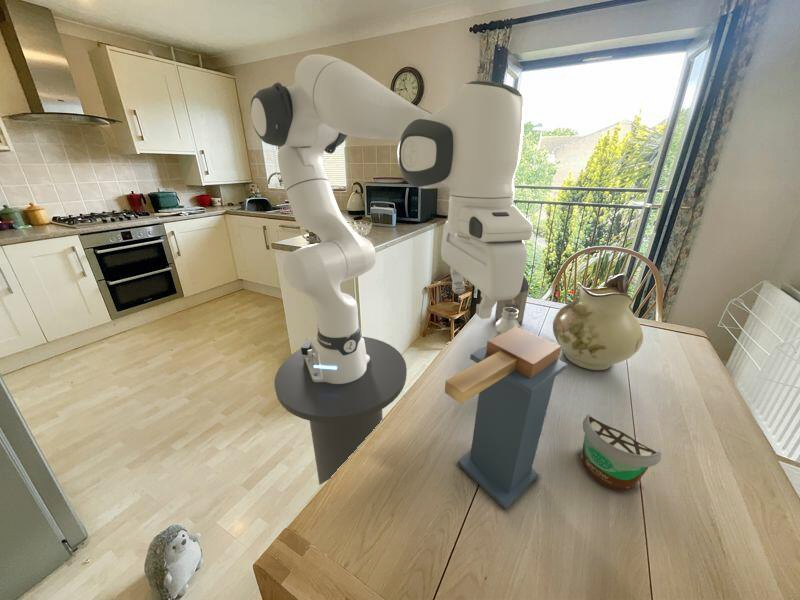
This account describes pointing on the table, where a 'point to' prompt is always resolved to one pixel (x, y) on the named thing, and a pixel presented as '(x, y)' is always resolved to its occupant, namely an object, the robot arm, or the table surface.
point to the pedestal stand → (509, 431)
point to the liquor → (514, 303)
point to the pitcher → (599, 326)
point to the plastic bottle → (506, 321)
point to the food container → (614, 456)
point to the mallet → (504, 362)
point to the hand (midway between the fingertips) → (469, 303)
